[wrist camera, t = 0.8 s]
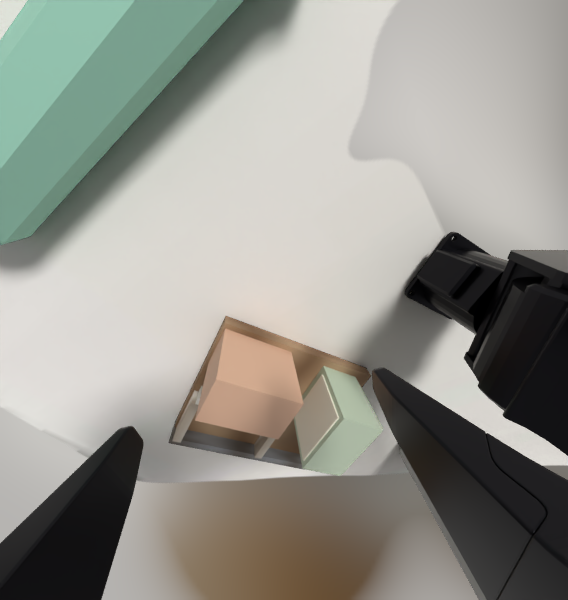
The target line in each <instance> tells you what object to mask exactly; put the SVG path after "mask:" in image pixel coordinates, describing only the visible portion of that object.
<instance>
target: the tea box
mask: <svg viewBox="0 0 568 600" xmlns="http://www.w3.org/2000/svg"><path fill="white" fill-rule="evenodd" d="M302 399H303V403H304V405H303V406H302V407H301V409H300V410H299V412H298V413H297V414H296V416H295V417H294V424H295V429H296V435H297V440H298V446H299V452H300V457H301V463H302V468H303V469H306V470H311V471H316V472H321V473H327V474H332V475H337V476H341V475H342V474H343V473H344V472H345V471H346V470H347V469H348V468H349V467H350V466H351V465H352V463H353V462H354V461H355V460H356V459H357V458H358V457H359V456H360V455H361V454H362V453H363V452H364V451H365V450H366V448H367V447H368V446H369V445H370V444H371V443H372V442H373V441H374V440H375V439H376V438H377V437H378V436H379V435H380V433H381V432H382V431H383V430H384V429H383V427H382V426H381V424H380V422H379V420H378V418H377V416H376V414H375V412H374V411H373V409H372V407H371V405H370V403H369V401H368V399H367V397H366V396H365V394H364V392H363V390H362V388H361V386H360V384H359V382H358V381H357V379H356V377H354V376H351V375H348V374H345V373H343V372H340V371H337V370H334V369H331V368H328V367H326V366H323V367H322V368H321V370H320V371H319V373H318V374H317V376H316V377H315V378H314V380H313V381H312V383H311V384H310V385H309V387H308V388H307V390H306V391H305V393H304V394H303V395H302Z"/></svg>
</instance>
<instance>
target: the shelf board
mask: <svg viewBox="0 0 568 600" xmlns="http://www.w3.org/2000/svg"><path fill="white" fill-rule="evenodd" d="M225 329H228V330H231V331H234V332H236V333H239V334H242V335H245V336H248V337H251V338H253V339H256V340H259V341H262V342H265V343H267V344H270V345H273V346H276V347H279V348H281V349H284V350H287V351H290V352H292V357H293V361H294V365H295V369H296V374H297V378H298V382H299V386H300V391H301V395H303V394H304V393H305V391H306V390H307V388H308V387H309V385H310V384H311V383H312V381H313V380H314V378H315V377H316V376H317V374H318V373H319V371H320V370H321V368H322V367H323V366H326V367H328V368H331V369H334V370H337V371H340V372H343V373H345V374H348V375H351V376H354V377H356V379H357V381H358V382H359V384H360V386H361V388H362V387H363V385H364V384H365V383H366V382H367V380H368V379H369V378H370V377H371V375H370V373H369V372H368V370H367V368H365V367H362V366H359V365H357V364H354V363H351V362H349V361H346V360H343V359H340V358H338V357H335V356H332V355H330V354H327V353H324V352H322V351H319V350H316V349H314V348H311V347H308V346H306V345H303V344H300V343H297V342H295V341H292V340H289V339H287V338H284V337H281V336H279V335H276V334H273V333H271V332H268V331H265V330H263V329H260V328H257V327H255V326H252V325H249V324H246V323H244V322H241V321H238V320H236V319H233V318H230V317H228V316H226V317H225V319H224V321H223V323H222V325H221V327H220V329H219V331H218V334H217V336H216V338H215V340H214V342H213V344H212V346H211V348H210V350H209V352H208V354H207V357H206V359H205V361H204V363H203V365H202V367H201V369H200V371H199V373H198V375H197V377H196V380H195V382H194V384H193V386H192V388H191V390H190V392H189V394H188V396H187V398H186V400H185V402H184V405H183V407H182V409H181V411H180V413H179V415H178V417H177V419H176V421H175V424H174V427H173V430H172V434H171V437H170V440H169V443H171V444H176V445H181V446H187V447H192V448H197V449H202V450H207V451H212V452H217V453H222V454H228V455H233V456H238V457H243V458H248V459H253V460H258V461H264V462H269V463H274V464H279V465H284V466H289V467H294V468H299V469H303V468H302V463H301V457H300V452H299V446H298V440H297V435H296V429H295V424H294V419H293V420H292V421H291V423H290V424H289V425H288V427H287V428H286V430H285V431H284V432H283V434H282V435H281V437H280V438H279V439H273V438H269V437H265V436H260V435H256V434H252V433H247V432H243V431H238V430H234V429H230V428H225V427H221V426H217V425H212V424H208V423H204V422H199V421H195V418H196V414H197V409H198V405H199V401H200V397H201V392H202V388H203V384H204V380H205V375H206V371H207V367H208V363H209V361H210V359H211V357H212V355H213V353H214V350H215V348H216V346H217V344H218V342H219V340H220V338H221V336H222V334H223V332H224V330H225Z"/></svg>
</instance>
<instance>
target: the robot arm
mask: <svg viewBox="0 0 568 600" xmlns="http://www.w3.org/2000/svg"><path fill="white" fill-rule="evenodd" d="M453 236H454V238H453V240H451V239H452V237H453ZM508 259H509V261H506V260H503V259H500V258H497V257H494V256H491V255H490V254H488V253H487V252H485V251H484V250H482V249H481V248H479V247H478V246H476V245H475V244H473V243H472V242H470V241H469V240H467V239H466V238H465V237H463V236H462V235H460V234H459V233H456V232H450V233H449V234H448V235H447V236H446V237H445V238H444V240H443V241H442V242H441V244H440V245H439V246H438V248H437V249H436V250H435V252H434V253H433V254H432V256H431V257H430V258H429V260H428V261H427V262H426V264H425V265H424V266H423V267H422V269H421V270H420V271H419V273H418V274H417V275H416V277H415V278H414V279H413V281H412V282H411V283H410V285H409V286H408V287H407V289H406V290H405V295H406V296H407V297H408V298H410V299H412V300H414V301H416V302H418V303H420V304H422V305H424V306H426V307H428V308H430V309H432V310H433V311H435V312H437V313H439V314H441V315H443V316H445V317H447V318H449V319H454V320H455V321H456V322H458V323H459V324H461V325H462V326H464V327H465V328H467V329H468V330H470V331H471V332H473V333H474V334H476V335H475V337H474V340H473V342H472V344H471V346H470V349H469V351H468V352H466V354H465V356H464V359H465V361H466V362H467V364H468V365H469V367H470V368H471V370H472V371H473V373H474V374H475V376H476V378H477V380H478V381H479V384H478V387H479V388H480V390H481V391H482V392H483V393H484V394H485V395H486V396H487V397H488V398H489V399H490V400H492V401H493V402H494V403H495V404H496V405H498V406H499V407H500V408H501V409H503V410H504V413H503V416H504V417H505V418H506V419H508V420H510V421H512V422H515V423H517V424H519V425H521V426H523V427H525V428H527V429H529V430H530V431H532V432H534V433H535V434H537V435H539V436H540V437H542V438H544V439H545V440H547V441H548V442H550V443H551V444H553V445H554V446H555V447H557V448H558V449H560V450H561V451H562V452H564V453H565V454H566V455H567V456H568V251H567V250H511V252H510V254H509V256H508ZM411 291H412V293H411V294H410V292H411ZM372 380H373V389H374V392H375V394H376V397H377V399H378V401H379V403H380V406H381V408H382V410H383V413H384V415H385V417H386V419H387V422H388V424H389V426H390V429H391V431H392V433H393V435H394V437H395V439H396V440H397V442H398V444H399V446H400V447H401V449H402V451H403V453H404V454H405V456H406V458H407V460H408V462H409V463H410V465H411V467H412V469H413V470H414V472H415V474H416V476H417V477H418V479H419V481H420V483H421V485H422V486H423V488H424V490H425V492H426V493H427V495H428V497H429V499H430V500H431V502H432V504H433V506H434V508H435V509H436V511H437V513H438V515H439V516H440V518H441V520H442V522H443V523H444V525H445V527H446V529H447V531H448V532H449V534H450V536H451V538H452V539H453V541H454V543H455V545H456V546H457V548H458V550H459V552H460V554H461V555H462V557H463V559H464V561H465V562H466V564H467V566H468V568H469V569H470V571H471V573H472V575H473V577H474V578H475V580H476V582H477V584H478V585H479V587H480V589H481V591H482V592H483V594H484V596H485V598H486V600H568V480H566V479H565V478H563V477H561V476H559V475H557V474H555V473H554V472H552V471H550V470H548V469H546V468H545V467H543V466H541V465H540V464H538V463H536V462H534V461H532V460H531V459H529V458H527V457H525V456H524V455H522V454H520V453H519V452H517V451H516V450H514V449H512V448H511V447H509V446H507V445H506V444H504V443H502V442H501V441H499V440H498V439H496V438H495V437H493V436H491V435H490V434H488V433H487V434H486V433H485V431H483V430H482V429H480V428H479V427H477V426H475V425H474V424H472V423H471V422H469V421H468V420H466V419H464V418H463V417H461V416H460V415H458V414H456V413H455V412H453V411H452V410H450V409H449V408H447V407H445V406H444V405H442V404H441V403H439V402H438V401H436V400H434V399H433V398H431V397H430V396H428V395H426V394H425V393H423V392H422V391H420V390H419V389H417V388H415V387H414V386H412V385H411V384H409V383H408V382H406V381H404V380H403V379H401V378H400V377H398V376H397V375H395V374H393V373H392V372H390V371H389V370H387V369H385V368H378V369H374V370H373V371H372ZM142 450H143V439H142V438H141V436H140V435H139V434H138V432H137V431H136V430H135V428H134V427H132V426H128V427H124V428H120V429H119V430H117V431H116V432H115V433H114V434H113V435H112V436H111V437H110V438H109V439H108V440H107V441H106V442H105V443H104V444H103V445H102V446H101V447H100V448H99V449H98V450H97V451H96V452H95V453H94V454H93V455H91V456H90V457H89V458H88V459H87V460H86V461H85V462H84V463H83V464H82V465H81V466H80V467H79V468H78V469H77V470H76V471H75V472H74V473H73V474H72V475H71V476H70V477H69V478H68V479H67V480H66V481H65V482H63V484H61V485H60V486H59V487H58V488H57V489H56V490H55V491H54V492H53V493H52V494H51V495H50V496H49V497H48V498H47V499H46V500H45V501H44V502H43V503H42V504H41V505H40V506H39V507H38V508H37V509H35V510H34V511H33V513H31V514H30V515H29V516H28V517H27V518H26V519H25V520H24V521H23V522H22V523H21V524H20V525H19V526H18V527H17V528H16V529H15V530H14V531H13V532H12V533H11V534H10V535H9V536H7V537H6V538H5V539H4V540H3V541H2V542H1V543H0V600H101V598H102V595H103V592H104V589H105V585H106V582H107V578H108V575H109V572H110V569H111V565H112V562H113V559H114V556H115V552H116V549H117V546H118V542H119V539H120V536H121V532H122V529H123V526H124V523H125V519H126V516H127V513H128V509H129V506H130V503H131V499H132V496H133V492H134V488H135V483H136V479H137V474H138V469H139V464H140V459H141V455H142Z"/></svg>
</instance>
